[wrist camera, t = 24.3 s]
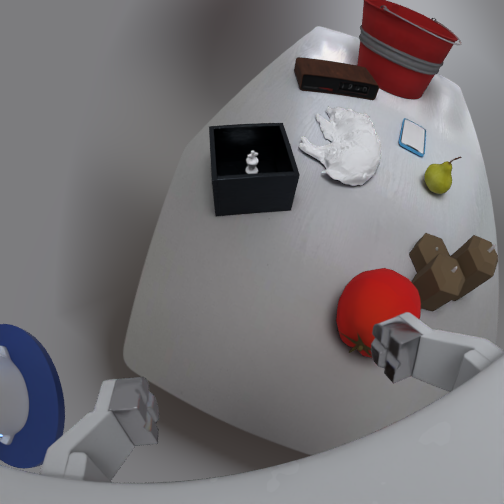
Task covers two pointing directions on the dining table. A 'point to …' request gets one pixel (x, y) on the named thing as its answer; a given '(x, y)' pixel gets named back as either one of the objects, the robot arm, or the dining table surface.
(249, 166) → the chess piece
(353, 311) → the tomato
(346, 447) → the robot arm
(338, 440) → the dining table surface
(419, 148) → the smartphone
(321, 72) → the alarm clock
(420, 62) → the bucket
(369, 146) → the figurine
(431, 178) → the fruit
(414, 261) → the candle
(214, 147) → the waste bin
